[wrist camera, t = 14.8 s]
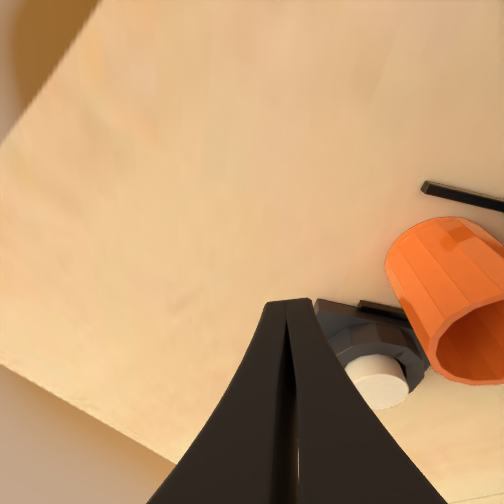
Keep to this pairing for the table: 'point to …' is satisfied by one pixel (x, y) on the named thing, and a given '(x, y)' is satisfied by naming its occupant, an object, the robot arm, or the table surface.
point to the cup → (453, 296)
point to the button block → (372, 338)
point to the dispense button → (378, 380)
